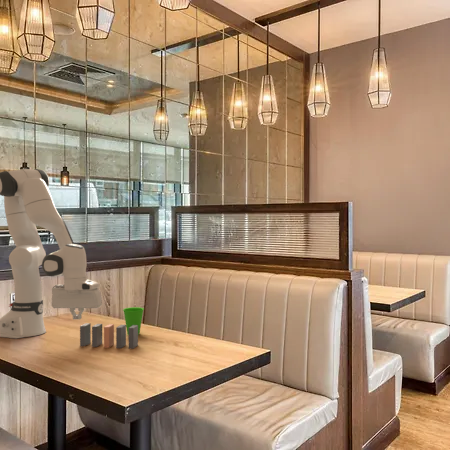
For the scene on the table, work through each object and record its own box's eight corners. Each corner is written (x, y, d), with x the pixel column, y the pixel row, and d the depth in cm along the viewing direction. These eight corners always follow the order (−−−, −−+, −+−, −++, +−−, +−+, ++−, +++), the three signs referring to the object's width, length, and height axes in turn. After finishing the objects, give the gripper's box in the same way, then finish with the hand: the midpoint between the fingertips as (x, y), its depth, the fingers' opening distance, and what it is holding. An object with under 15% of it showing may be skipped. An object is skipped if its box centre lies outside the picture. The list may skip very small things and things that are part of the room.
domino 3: (104, 347, 177) (104, 326, 177) (109, 344, 182) (109, 324, 182) (108, 347, 177) (108, 327, 177) (113, 344, 182) (113, 324, 182)
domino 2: (92, 346, 178) (92, 326, 178) (97, 343, 183) (97, 323, 183) (96, 347, 178) (96, 326, 178) (102, 343, 183) (102, 323, 183)
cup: (146, 332, 202) (146, 307, 202) (140, 337, 193) (140, 311, 193) (126, 331, 203) (126, 307, 203) (120, 336, 194) (120, 311, 194)
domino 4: (116, 348, 177) (116, 327, 177) (121, 344, 182) (121, 324, 182) (121, 348, 176) (121, 327, 176) (125, 344, 181) (125, 324, 181)
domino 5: (128, 348, 176) (128, 327, 176) (133, 345, 181) (133, 325, 181) (133, 348, 176) (133, 328, 176) (137, 345, 180) (137, 325, 180)
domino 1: (80, 346, 179) (80, 326, 179) (85, 342, 184) (85, 323, 184) (84, 346, 179) (84, 326, 179) (90, 343, 184) (90, 323, 184)
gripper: (47, 286, 180) (48, 320, 180) (95, 285, 177) (97, 321, 177) (56, 283, 186) (57, 317, 186) (102, 283, 183) (104, 317, 183)
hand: (77, 319), depth 182 cm, fingers closed
